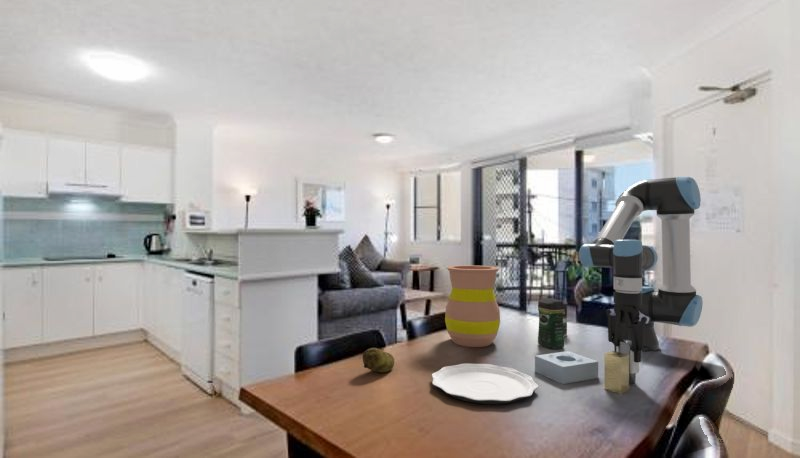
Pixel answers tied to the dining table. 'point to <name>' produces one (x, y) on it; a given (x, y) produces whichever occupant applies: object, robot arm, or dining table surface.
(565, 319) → the coffee can
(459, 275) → the vase
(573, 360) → the bore block
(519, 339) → the dining table surface
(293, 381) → the dining table surface
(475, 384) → the plate
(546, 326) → the coffee jar
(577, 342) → the dining table surface
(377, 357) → the potato
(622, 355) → the square bit
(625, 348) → the round bit
